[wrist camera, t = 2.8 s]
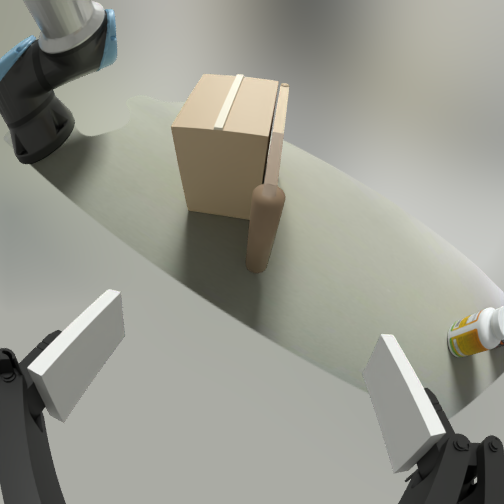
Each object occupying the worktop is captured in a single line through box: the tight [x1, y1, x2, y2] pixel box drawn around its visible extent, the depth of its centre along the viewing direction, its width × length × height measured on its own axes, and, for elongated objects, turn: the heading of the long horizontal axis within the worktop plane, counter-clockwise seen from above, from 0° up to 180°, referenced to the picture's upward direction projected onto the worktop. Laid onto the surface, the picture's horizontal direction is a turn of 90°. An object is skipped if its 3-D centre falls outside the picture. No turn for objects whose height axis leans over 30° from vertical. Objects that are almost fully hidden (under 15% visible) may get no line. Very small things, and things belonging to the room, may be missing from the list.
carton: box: [171, 74, 279, 220], centre depth 32 cm, size 11×9×14 cm
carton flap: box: [245, 83, 289, 273], centre depth 30 cm, size 19×2×14 cm, turn 171°
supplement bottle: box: [448, 306, 504, 357], centre depth 25 cm, size 5×5×10 cm
